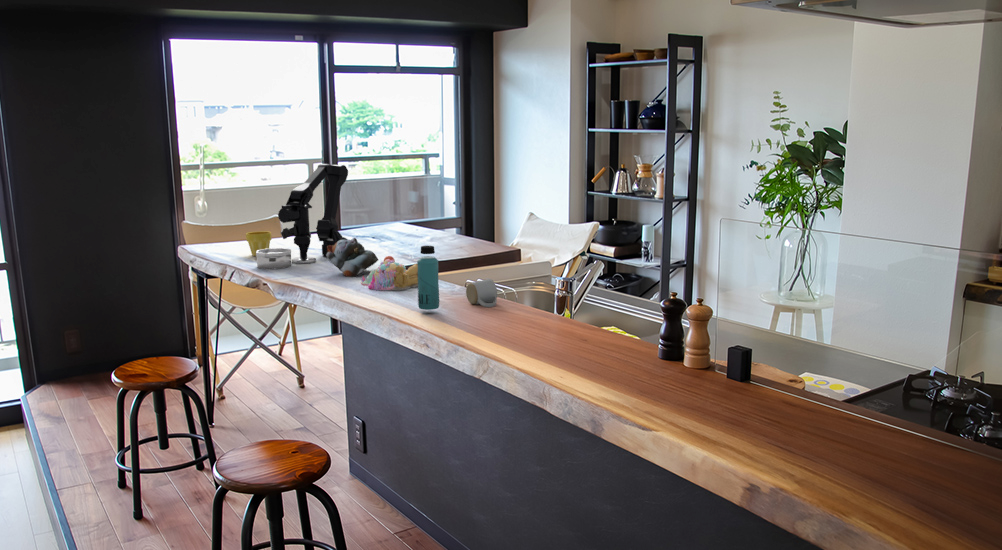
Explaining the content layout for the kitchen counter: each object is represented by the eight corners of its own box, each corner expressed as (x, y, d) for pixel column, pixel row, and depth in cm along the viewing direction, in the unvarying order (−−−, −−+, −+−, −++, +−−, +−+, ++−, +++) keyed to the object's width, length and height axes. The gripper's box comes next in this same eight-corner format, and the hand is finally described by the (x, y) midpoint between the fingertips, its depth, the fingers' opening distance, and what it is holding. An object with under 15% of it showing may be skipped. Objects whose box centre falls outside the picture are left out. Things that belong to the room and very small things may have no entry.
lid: (316, 259, 312) (315, 247, 311) (315, 263, 303) (315, 250, 302) (292, 260, 310) (291, 247, 309) (291, 264, 301) (290, 251, 300)
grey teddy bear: (352, 278, 271) (330, 241, 270) (335, 287, 281) (314, 251, 280) (385, 259, 282) (365, 223, 281) (368, 269, 292) (348, 234, 291)
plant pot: (246, 254, 325) (244, 231, 323) (270, 252, 329) (269, 230, 327) (248, 257, 316) (247, 234, 314) (274, 256, 320) (272, 233, 318)
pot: (292, 261, 307) (291, 246, 305) (290, 269, 289) (289, 253, 288) (259, 262, 304) (258, 247, 303) (255, 271, 286) (254, 255, 285)
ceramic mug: (464, 302, 235) (464, 279, 233) (485, 299, 239) (486, 276, 237) (481, 309, 226) (481, 285, 225) (503, 306, 230) (503, 282, 229)
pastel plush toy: (442, 282, 266) (442, 257, 265) (401, 295, 246) (401, 267, 245) (387, 275, 279) (386, 251, 277) (344, 287, 259) (343, 260, 257)
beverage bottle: (440, 309, 225) (439, 244, 221) (439, 314, 219) (438, 247, 215) (418, 309, 225) (417, 244, 221) (416, 315, 219) (415, 247, 215)
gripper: (282, 218, 310) (284, 255, 313) (279, 223, 292) (281, 262, 295) (310, 217, 313) (311, 254, 316) (309, 222, 295) (310, 261, 298)
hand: (303, 258), depth 306 cm, fingers closed on lid, 3 cm apart
